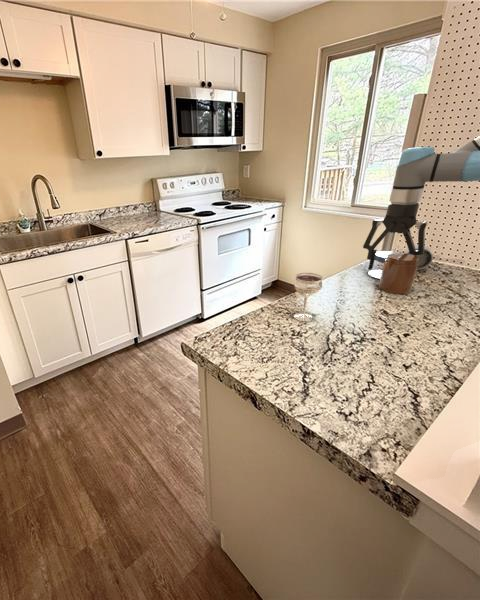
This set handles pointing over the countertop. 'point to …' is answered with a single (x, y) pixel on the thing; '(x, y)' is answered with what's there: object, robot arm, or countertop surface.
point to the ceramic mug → (423, 258)
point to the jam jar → (398, 273)
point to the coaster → (375, 274)
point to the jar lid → (382, 255)
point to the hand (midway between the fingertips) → (386, 271)
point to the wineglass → (307, 290)
